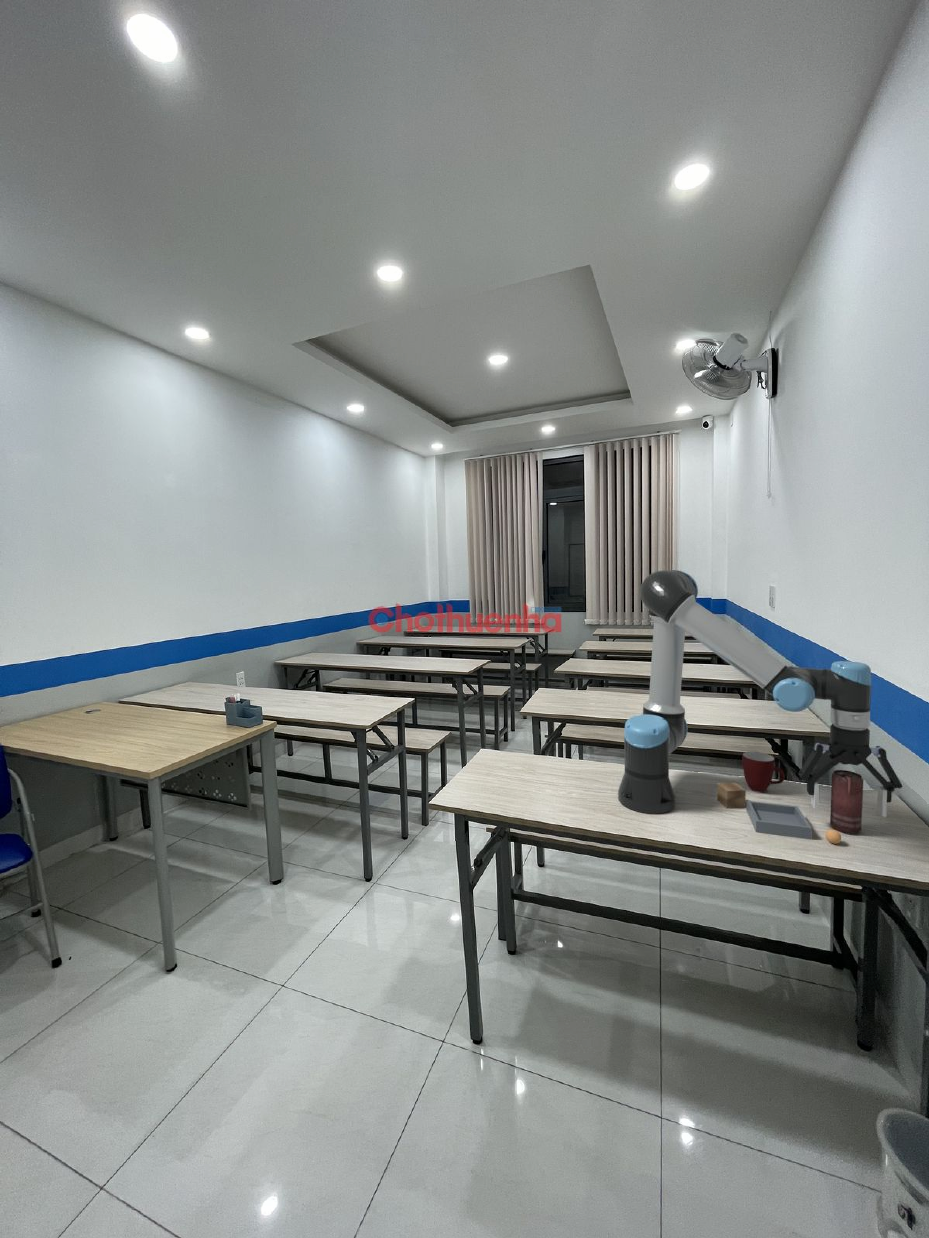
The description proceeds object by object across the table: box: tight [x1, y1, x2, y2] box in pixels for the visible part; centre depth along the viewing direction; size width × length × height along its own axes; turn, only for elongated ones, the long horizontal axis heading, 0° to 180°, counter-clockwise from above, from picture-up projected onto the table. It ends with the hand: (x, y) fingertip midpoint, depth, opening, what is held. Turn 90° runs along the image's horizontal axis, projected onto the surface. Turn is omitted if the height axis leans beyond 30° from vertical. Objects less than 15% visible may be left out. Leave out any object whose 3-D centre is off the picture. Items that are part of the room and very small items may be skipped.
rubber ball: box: [825, 829, 843, 845], centre depth 114 cm, size 3×3×3 cm
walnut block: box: [716, 782, 747, 809], centre depth 135 cm, size 5×5×5 cm
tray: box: [746, 800, 813, 840], centre depth 123 cm, size 12×12×3 cm
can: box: [829, 769, 864, 836], centre depth 120 cm, size 6×6×14 cm
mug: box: [741, 751, 786, 793], centre depth 143 cm, size 10×8×10 cm
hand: (847, 810), depth 120 cm, fingers open, 13 cm apart
